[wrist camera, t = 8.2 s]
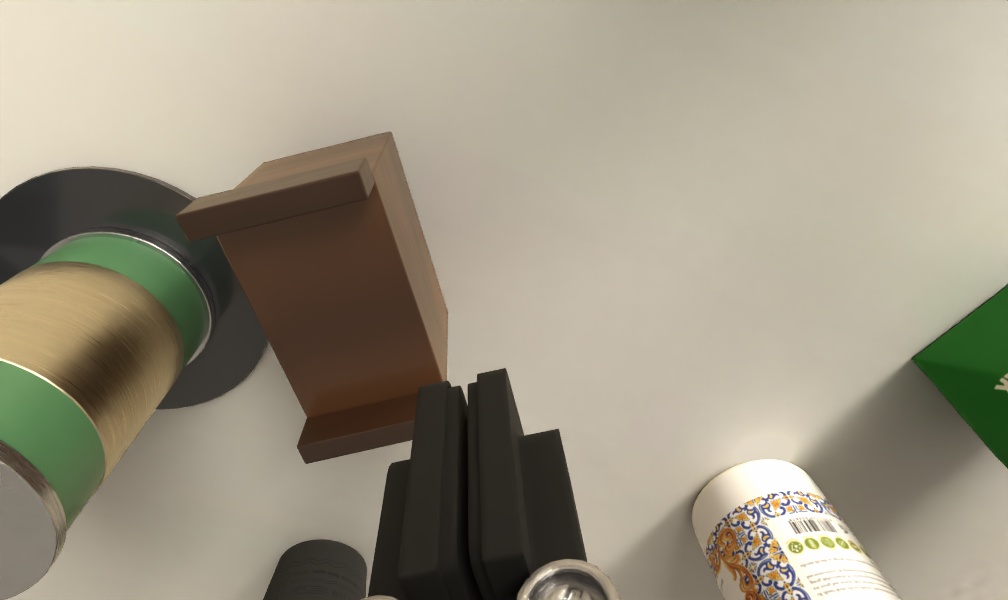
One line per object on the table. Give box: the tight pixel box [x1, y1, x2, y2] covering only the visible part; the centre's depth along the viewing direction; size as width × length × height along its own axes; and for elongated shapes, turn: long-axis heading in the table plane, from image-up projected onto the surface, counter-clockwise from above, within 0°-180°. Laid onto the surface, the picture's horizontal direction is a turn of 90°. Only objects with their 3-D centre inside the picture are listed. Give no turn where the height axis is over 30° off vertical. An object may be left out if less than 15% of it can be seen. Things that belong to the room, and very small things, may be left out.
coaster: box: [0, 166, 268, 409], centre depth 24 cm, size 11×11×1 cm
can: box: [0, 228, 215, 600], centre depth 19 cm, size 7×12×13 cm
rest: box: [176, 132, 448, 464], centre depth 20 cm, size 9×5×7 cm, turn 13°
